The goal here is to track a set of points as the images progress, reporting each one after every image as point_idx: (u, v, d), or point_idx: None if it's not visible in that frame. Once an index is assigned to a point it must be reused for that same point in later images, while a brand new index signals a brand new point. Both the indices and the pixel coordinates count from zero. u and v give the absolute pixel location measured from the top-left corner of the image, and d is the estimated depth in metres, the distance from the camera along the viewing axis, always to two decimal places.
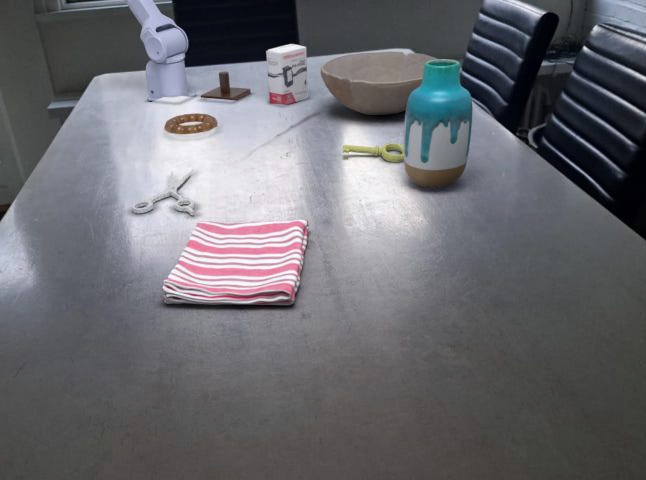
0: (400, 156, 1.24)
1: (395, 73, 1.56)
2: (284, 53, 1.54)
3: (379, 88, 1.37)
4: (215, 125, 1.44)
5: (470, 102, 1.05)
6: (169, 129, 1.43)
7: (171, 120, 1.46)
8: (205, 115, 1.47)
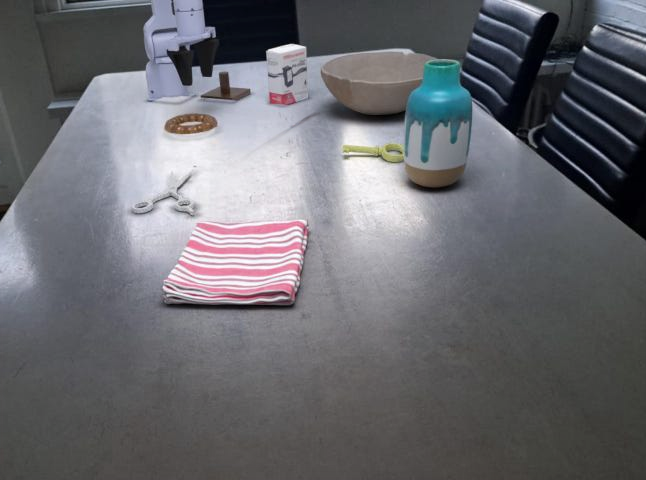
0: (400, 156, 1.24)
1: (395, 73, 1.56)
2: (284, 53, 1.54)
3: (379, 88, 1.37)
4: (215, 125, 1.44)
5: (470, 102, 1.05)
6: (169, 129, 1.43)
7: (171, 120, 1.46)
8: (205, 115, 1.47)
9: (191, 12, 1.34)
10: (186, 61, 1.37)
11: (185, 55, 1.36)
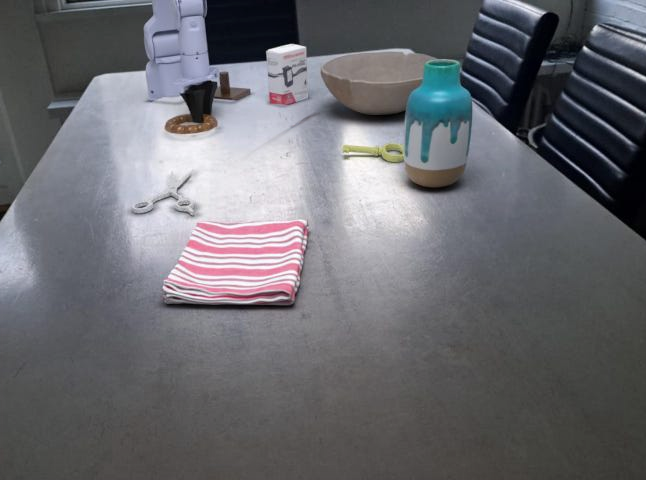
0: (400, 156, 1.24)
1: (395, 73, 1.56)
2: (284, 53, 1.54)
3: (379, 88, 1.37)
4: (215, 125, 1.44)
5: (470, 102, 1.05)
6: (169, 129, 1.43)
7: (171, 120, 1.46)
8: (206, 115, 1.47)
9: (196, 56, 1.39)
10: (197, 99, 1.43)
11: (196, 94, 1.42)
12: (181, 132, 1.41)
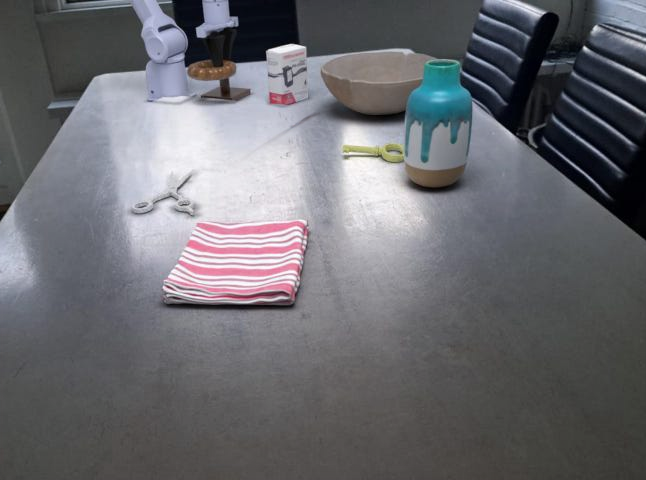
0: (400, 156, 1.24)
1: (395, 73, 1.56)
2: (284, 53, 1.54)
3: (379, 88, 1.37)
4: (234, 69, 1.56)
5: (470, 102, 1.05)
6: (192, 72, 1.54)
7: (193, 64, 1.57)
8: (225, 60, 1.59)
9: (217, 3, 1.50)
10: (218, 45, 1.54)
11: (217, 39, 1.53)
12: (203, 74, 1.53)
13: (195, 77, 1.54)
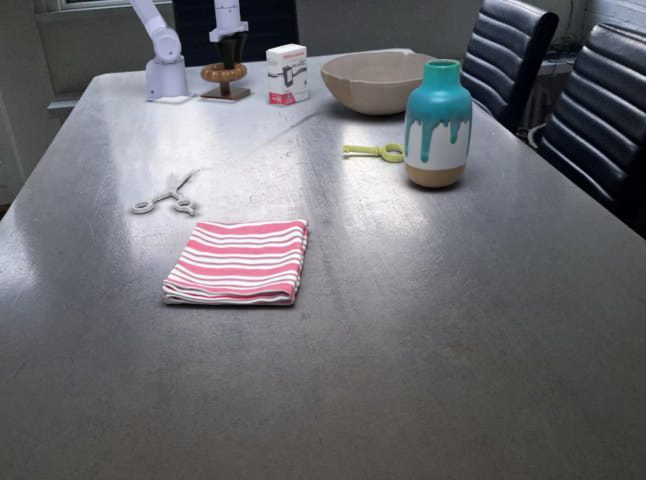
0: (400, 156, 1.24)
1: (395, 73, 1.56)
2: (284, 53, 1.54)
3: (379, 88, 1.37)
4: (245, 71, 1.64)
5: (470, 102, 1.05)
6: (205, 74, 1.63)
7: (206, 67, 1.66)
8: (236, 63, 1.67)
9: (229, 9, 1.59)
10: (229, 48, 1.63)
11: (229, 43, 1.62)
12: (215, 76, 1.61)
13: (208, 79, 1.63)
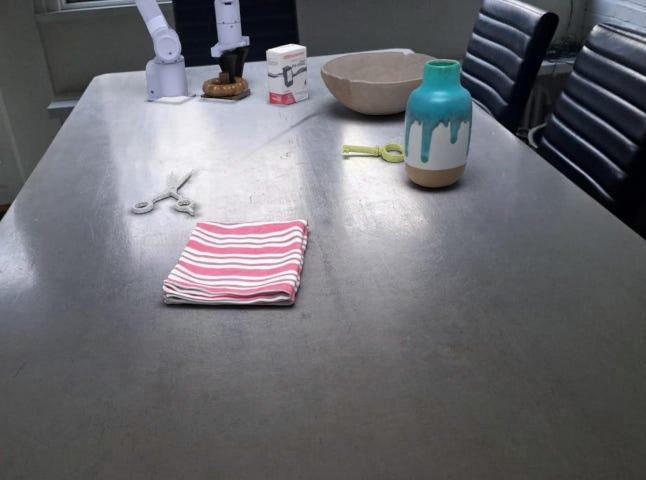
0: (400, 156, 1.24)
1: (395, 73, 1.56)
2: (284, 53, 1.54)
3: (379, 88, 1.37)
4: (246, 85, 1.66)
5: (470, 102, 1.05)
6: (207, 88, 1.65)
7: (208, 81, 1.67)
8: (238, 77, 1.69)
9: (231, 24, 1.61)
10: (230, 63, 1.65)
11: (230, 58, 1.64)
12: (217, 91, 1.63)
13: (210, 93, 1.65)
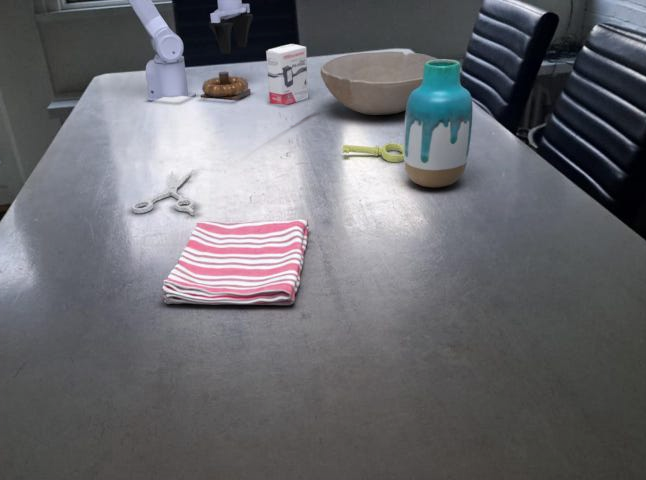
0: (400, 156, 1.24)
1: (395, 73, 1.56)
2: (284, 53, 1.54)
3: (379, 88, 1.37)
4: (246, 85, 1.66)
5: (470, 102, 1.05)
6: (207, 88, 1.65)
7: (208, 81, 1.67)
8: (238, 77, 1.69)
9: None
10: (226, 32, 1.61)
11: (225, 26, 1.60)
12: (217, 91, 1.63)
13: (210, 93, 1.65)
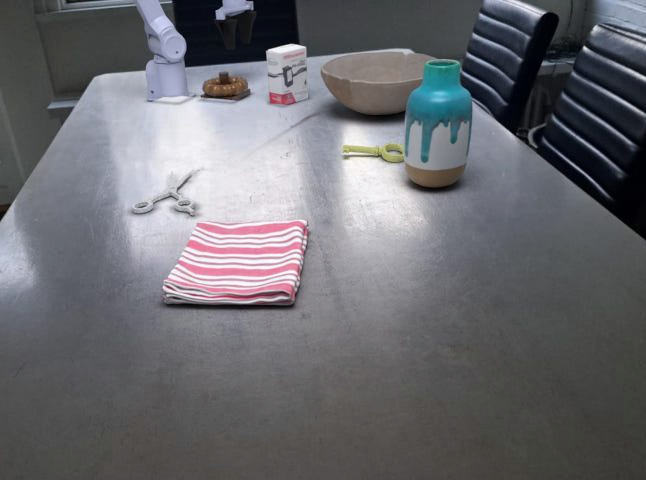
0: (400, 156, 1.24)
1: (395, 73, 1.56)
2: (284, 53, 1.54)
3: (379, 88, 1.37)
4: (246, 85, 1.66)
5: (470, 102, 1.05)
6: (207, 88, 1.65)
7: (208, 81, 1.67)
8: (238, 77, 1.69)
9: None
10: (231, 28, 1.65)
11: (230, 23, 1.64)
12: (217, 91, 1.63)
13: (210, 93, 1.65)
